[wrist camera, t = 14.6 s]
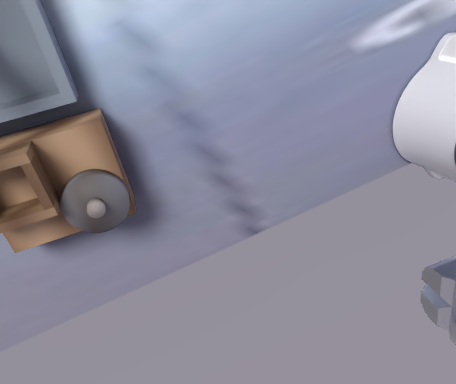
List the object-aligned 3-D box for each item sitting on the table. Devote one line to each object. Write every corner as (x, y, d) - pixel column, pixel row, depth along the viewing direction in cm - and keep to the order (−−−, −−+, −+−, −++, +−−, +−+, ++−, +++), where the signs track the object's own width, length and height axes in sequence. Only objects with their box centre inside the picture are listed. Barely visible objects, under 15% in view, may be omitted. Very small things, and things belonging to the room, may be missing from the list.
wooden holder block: (100, 108, 38) (101, 131, 32) (133, 194, 43) (139, 228, 37) (-29, 144, 36) (-54, 176, 31) (21, 230, 42) (9, 272, 36)
